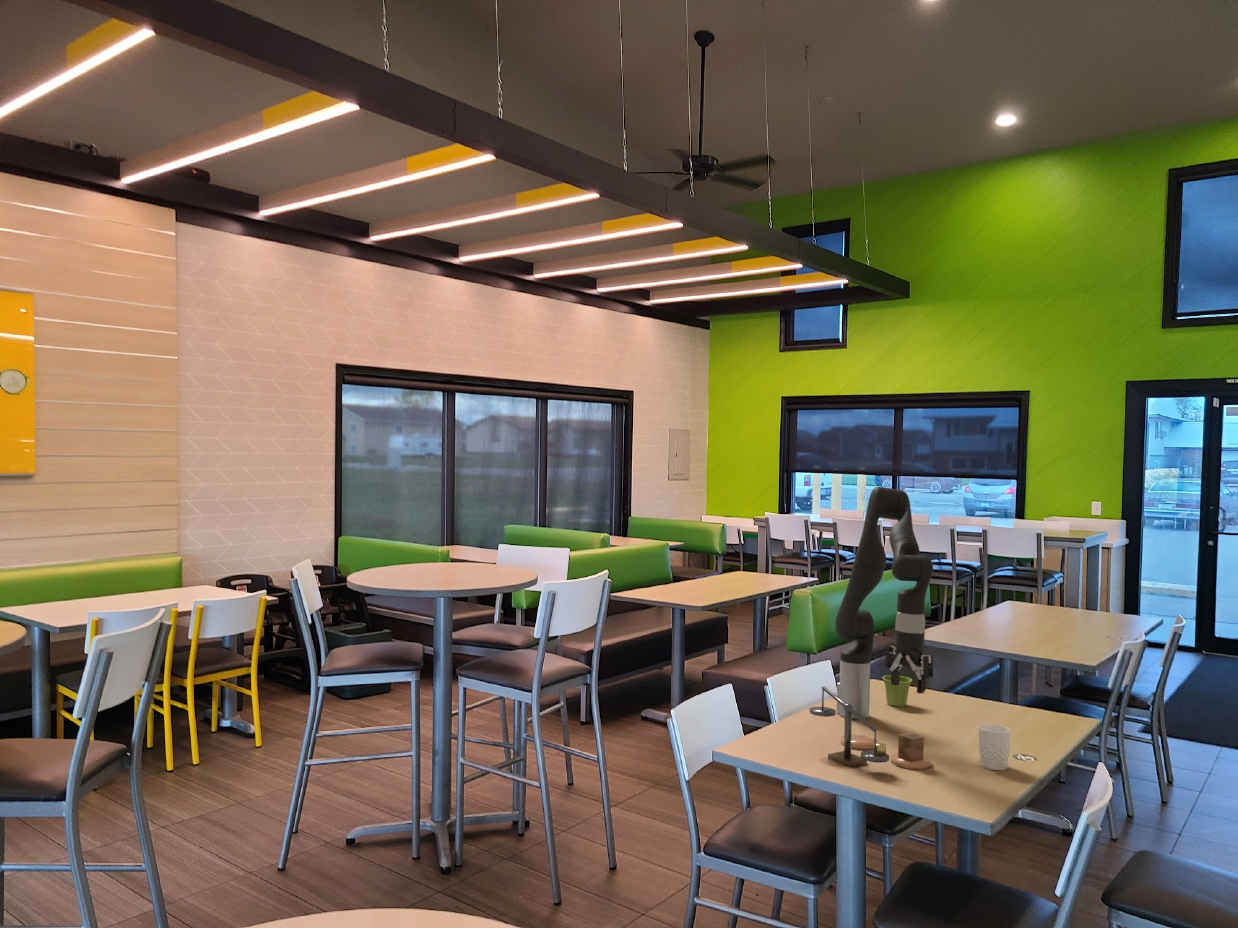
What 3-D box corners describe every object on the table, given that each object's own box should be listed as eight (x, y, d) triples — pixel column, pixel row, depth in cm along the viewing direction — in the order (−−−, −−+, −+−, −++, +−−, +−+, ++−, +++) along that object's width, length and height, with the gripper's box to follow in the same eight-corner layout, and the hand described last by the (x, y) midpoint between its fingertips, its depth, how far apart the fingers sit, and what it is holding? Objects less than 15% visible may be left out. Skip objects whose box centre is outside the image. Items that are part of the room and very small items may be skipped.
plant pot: (916, 708, 287) (917, 681, 287) (889, 708, 286) (889, 682, 286) (903, 700, 296) (904, 675, 296) (877, 701, 295) (877, 675, 295)
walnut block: (898, 757, 232) (898, 734, 232) (909, 754, 234) (910, 732, 234) (911, 762, 228) (912, 739, 228) (923, 759, 231) (923, 736, 231)
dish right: (882, 760, 233) (882, 755, 233) (908, 754, 238) (908, 750, 238) (913, 771, 224) (913, 767, 224) (938, 765, 230) (938, 761, 230)
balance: (803, 749, 241) (804, 684, 241) (822, 745, 244) (823, 681, 245) (875, 778, 219) (876, 706, 219) (894, 773, 222) (896, 703, 223)
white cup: (993, 760, 235) (994, 722, 236) (1016, 769, 228) (1017, 731, 228) (970, 762, 233) (971, 725, 233) (993, 772, 225) (994, 733, 225)
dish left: (833, 741, 248) (833, 737, 248) (858, 736, 253) (858, 732, 253) (860, 751, 240) (860, 747, 240) (885, 746, 245) (885, 742, 245)
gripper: (879, 625, 239) (877, 684, 240) (921, 635, 227) (919, 697, 227) (899, 623, 243) (897, 681, 244) (941, 633, 231) (939, 694, 231)
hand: (907, 688), depth 235 cm, fingers open, 8 cm apart
